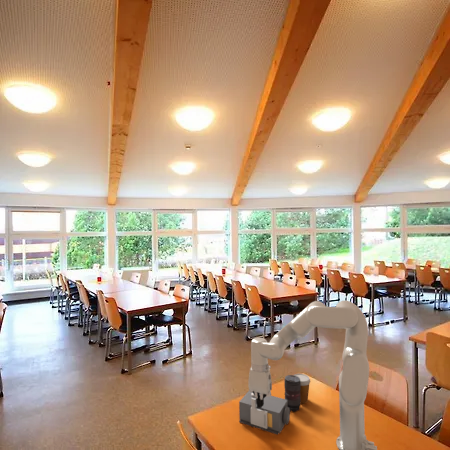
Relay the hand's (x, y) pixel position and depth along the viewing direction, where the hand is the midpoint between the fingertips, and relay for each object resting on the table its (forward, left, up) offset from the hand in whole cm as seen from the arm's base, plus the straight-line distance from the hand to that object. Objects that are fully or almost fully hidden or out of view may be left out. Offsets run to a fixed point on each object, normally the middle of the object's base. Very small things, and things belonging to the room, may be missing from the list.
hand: (260, 406), depth 140 cm
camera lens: (-8, -23, -10) cm, 26 cm away
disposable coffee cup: (-10, -32, -10) cm, 35 cm away
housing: (+1, -7, -10) cm, 12 cm away
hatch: (+1, 0, -9) cm, 9 cm away
